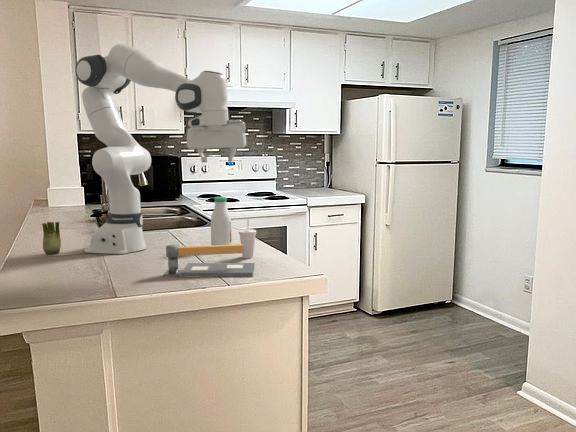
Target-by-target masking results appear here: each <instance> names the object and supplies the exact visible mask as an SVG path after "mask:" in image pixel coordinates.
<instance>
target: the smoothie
mask: <svg viewBox="0 0 576 432" xmlns="http://www.w3.org/2000/svg"><path fill="white" fill-rule="evenodd" d="M249 220H250V219H249V218H247V219H246V221H247V222H246V223H247V224H246V226H247V227H246V228H245V229H239V230H238V235H239V240H240V244H243V253H241V256H242V259H246V260H247V259H253V258H254V252H255V243H256V235H257V229H254V228H253V229H252V228H251V229H250V222H249Z"/></svg>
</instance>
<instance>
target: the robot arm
mask: <svg viewBox="0 0 576 432" xmlns="http://www.w3.org/2000/svg"><path fill="white" fill-rule="evenodd" d="M75 76H76V78H77V80H78V82H79V83H80V84H82V85H84V86H86V87H85V88H84V89H83V91H82V92H81V99H82V104H83V108H84V111H85V114H86V117H87V118H88V121H89V124H90V126H91V128H92V130H93V133H94V136H95V138H97V140H99V141H100V142H101V143H103V144H104V145H106V147H103V148H100V149H98V150H96V151H95V152H94V154H93V156H92V160H91V164H92V167H93V170H94V171H95V173H96V174H97V175H99V176H100V177H101V178H102V180H103V182H104V184H105V185H106V186H105V187H106V189H107V192H108V198H109V200H108V201H109V212H107V214H105V215H104V216H103V217H104V220H105V223H104V224H103V225H101V226H100V227H99V228H97V229H96V230H95V231H94V232H93V233H92V234H91V237H90V242H89V245H87V246H85V247H84V251H83V252H84V253H86V254H107V255H110V254H111V255H112V254H113V255H124V254H127V253H133V252H139V251H144V250H145V249H147V248H148V247H147V244H146V240H145V237H144V236H145V235H144V232H143V223H144V222H143V221H144V220H143V212H142V211H141V210H142V209H141V193H140V191H139V189H138V188H137V187H135V186H134V184H133V182H132V178H131V176H133V175H134V176H135V175H140V174H142V173H145V172H146V171H148V170H149V169H150V168H151V166H152V157H151V156H152V155H151V153H150V152H149V150H147V149H146V148H145V147H143V146H141V144H139V142H137V140H135V138H134V137H133V135H132V134H131V132H130V131H129V130H128V129H127V128H126V125H125V123H124V121H123V120H122V119H123V118H122V117H121V115H120V112H119V110H118V108H117V106H116V103H115V101H114V95H118V94H120V93H121V92H122V91H123V90H124V89H125V88H127V87H128V86H129V85H130V83H131V82H133V83H134V84H137V85H139V86H143V87H148V88H155V89H162V90H168V91H171V92H174V93H175V94H174V95H175V98H174V99H175V103H176V106H177V107H178V108H179V109H180V110H181V111H185V112H188V113H200V114H201V115H199V116H197V117H194V118H191V119H189V120H188V121H187V123H188V127H189V128H188V129H187V132H186V146H187V148H188V149H189V150H196V149H197V153H198V155H199V157H200V159H201V163H208V157H207V156H205V155H204V151H205V150H204V149H230V152H231V153H230V155H229V156H227V163H228V162H230V163H231V162H234V157H235V154H236V153H237V148H245V147H246V145H247V138H246V137H247V136H246V130H247V129H246V128H247V125H246V123H245V121H243V120H242V119H229V108H228V105H227V103H228V86H227V81H226V77H225V76H224V74H223V73H221V72H218V71H213V70H203V71H201V72H200V73H199V75H198V76H196V78H193V79H191V80H190V79H189V78H187V77H185V76H183V75H181V74H178V73H177V72H176V71H173V70H172V69H170V68H169V67H168V66H166V65H164V64H163V63H161V62H160V61H159V60H157V59H155V58H154V57H152V56H151V55H149V54H148V53H146V52H144V51H142V50H140V49H138V48H136V47H135V46H132V45H131V46H130V45H128V44H126V43H125V44H124V43H117V44H115V45H113V47H111V48H110V50H109V51H108V54H107V55H105V56H102V55H101V54H95V55H87V56H83V57H80V58H79V59H78V61H77V62H76V65H75Z"/></svg>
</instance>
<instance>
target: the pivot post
mask: <svg viewBox="0 0 576 432" xmlns="http://www.w3.org/2000/svg"><path fill="white" fill-rule="evenodd" d="M167 264H168V265H167V267H168V269H166V271H165V272H164V273H163V277H181V272H182V271H183V270H184V269H179V257H174V258H169V257H167Z"/></svg>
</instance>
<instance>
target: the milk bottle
mask: <svg viewBox="0 0 576 432" xmlns="http://www.w3.org/2000/svg"><path fill="white" fill-rule="evenodd" d="M227 199H228V198H227V197H226V196H215V197H214V198H213V200H214V209H213V211H212V214H211V218H210V245H232V219H231V215H230V213H229V209H228V208H227V203H228V202H227Z"/></svg>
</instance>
